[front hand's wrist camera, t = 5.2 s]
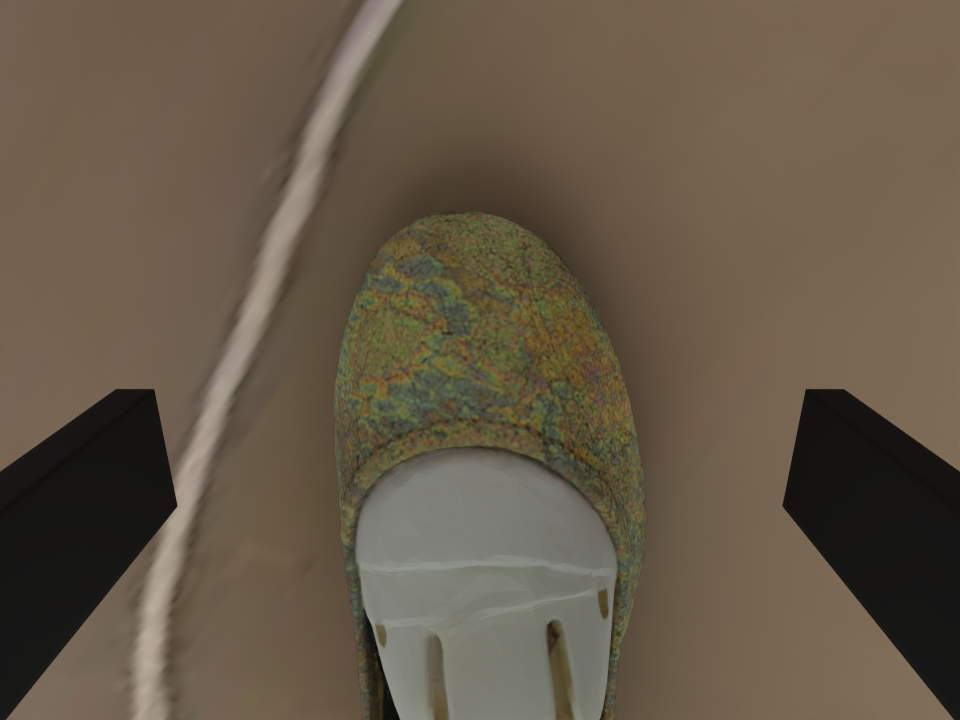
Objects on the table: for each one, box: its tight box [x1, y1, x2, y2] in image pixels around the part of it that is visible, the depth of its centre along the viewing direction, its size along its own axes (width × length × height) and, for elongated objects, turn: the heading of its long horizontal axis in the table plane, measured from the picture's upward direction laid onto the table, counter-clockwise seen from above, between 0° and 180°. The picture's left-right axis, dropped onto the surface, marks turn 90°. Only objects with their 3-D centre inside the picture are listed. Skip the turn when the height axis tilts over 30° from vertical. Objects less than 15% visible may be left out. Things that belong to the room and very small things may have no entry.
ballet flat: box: [334, 211, 646, 720], centre depth 16 cm, size 8×24×8 cm, turn 0°
